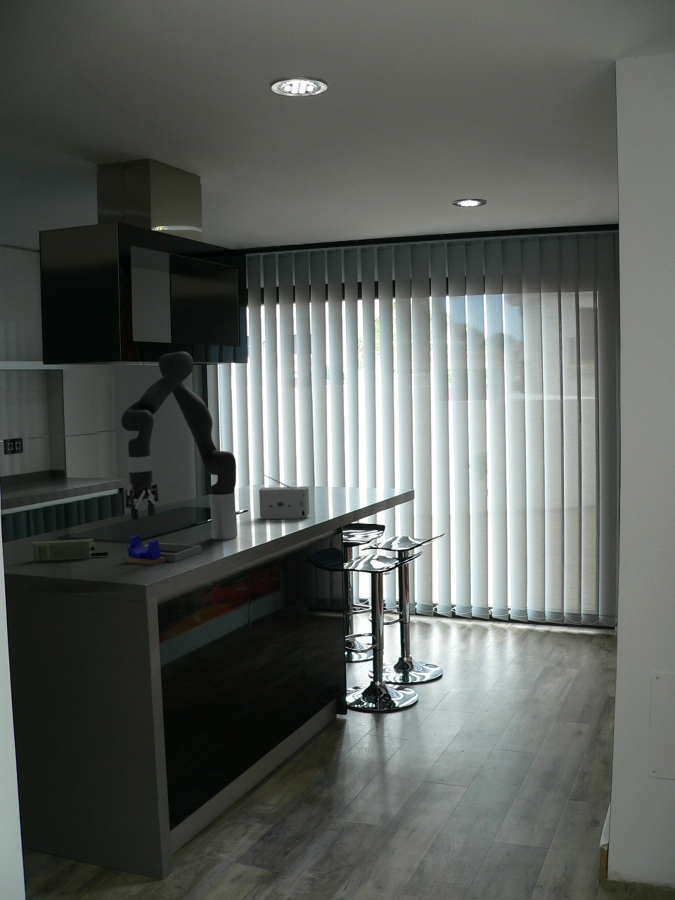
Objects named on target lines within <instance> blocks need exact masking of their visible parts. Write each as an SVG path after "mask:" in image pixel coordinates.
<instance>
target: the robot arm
mask: <svg viewBox="0 0 675 900" xmlns="http://www.w3.org/2000/svg"><path fill="white" fill-rule="evenodd" d="M158 367H159V371H160V374H161V376H162V377H161V378H159V379H158V380H157V381H155V382H154V383H152V384H151V385H150V386H149V387H148V388H147V389H146V390H145V391H144V393H143V394H142V396H141V397H140V398H139V399H138V400H137V401H136V402H134V403H133V404H132V405H130V406H129V407H128V408H127V409H126V410H125V411H124V412H123V414H122V415H121V419H120V423H121V426H122V428H123V429H124V430H126V431H127V432H128V431H129V432H138V434H137V436H136V437H135V438H131V439H130V440H128V443H127V447H128V450H127V451H128V477H129V485H131V486H132V488H131V489H125V491H124V492H125V507H126V508H127V509H130V518H131V520H133V521H138V520H139V509H138V508H139V504H141V503H142V501H146V504H147V515H148V516H151V517H152V516H155V514H156V513H155V511H156V509H155V504H156V502H159V500H160V499H159V492H158V484H153V482H154V481H153V467H152V457H151V444H150V443H151V440H152V439H151V438H152V434H153V433H152V432H153V429H154V424H155V422H154V416H153V415H155V414H157V412H158V410H159V409H160V408H161V407H162V405H163V404H164V402H165V400H166V399H167V398H168V397H169V396H170V394H171V393H172V394H173V396H174V398H175V400H176V403H177V405H178V407H179V408H180V411H181V414H182V416H183V417H184V420H185V423H186V425H187V426H188V428H189V431H190V432H191V436H192V437H193V440H194V442H195V444H196V446H197V448H198V452H199V455H200V458H201V460H202V464H203V466H204V467H203V468H204V469H205V470H206V472H208V474H210V475H212V476H213V475H214V476H217V481H216V483H215V484H211V485H210V486H209V497H210V499H209V501H210V518H211V520H210V521H211V538H212V539H213V540H220V541H221V540H233V539H235V538H237V536H238V525H237V522H238V519H237V511H236V501H235V500H236V498H235V488H236V485H237V463H236V462H237V460H236V457H235V456H234V454H233V453H232V452H230V451H225V450H218V449H217V448H216V445H215V443H214V440H213V436H212V431H213V418H212V415H211V412H210V410H209V407H208V406H207V404H206V402H205V401H204V400H203V399H202V398H201V397H199V395H198V394H196V393H195V392H194V391H193V390H191V389H190V388H189V387H188V385H187V384H186V383H185V382H184V380H186V379H187V378H188V377H189V376H190V375H191V374H192V373H193V370H194V367H195V366H194V359H193V356H191V354H190V353H188V352H187V351H176V352H170V353H165V354H162V355H161V356H160V357H159V359H158Z"/></svg>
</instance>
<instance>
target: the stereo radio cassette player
mask: <svg viewBox="0 0 675 900" xmlns="http://www.w3.org/2000/svg"><path fill="white" fill-rule="evenodd" d="M264 477H266V478H269V479H271V480H273V481H274V482H276V483H279V484H281V485H283V486H284V487H282V486H280V487H279V486H278V487H271V486H270V487H261V488H259V490H258V494H259V495H258V497H259V498H258V499H259V515H260V516H259V517H260V518H261V519H262V520H286V519H287V520H289V519H291V520H292V519H293V520H294V519H295V520H296V519H297V520H299V519H302V520H304V519H306V518H307V517H308V516H309V515H310V490H309V487H308V486H289V485H287V484H285V483H283V482H282V481H279V480H277V479H274V478H273V477H270V476H267V475H266V474H264Z"/></svg>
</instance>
